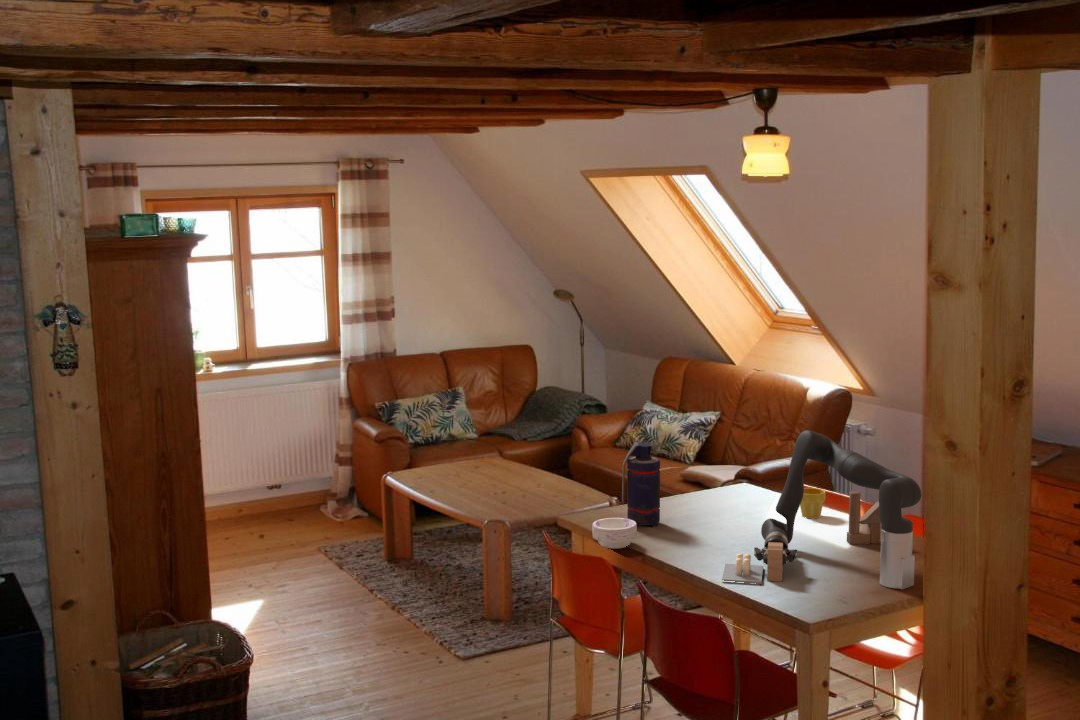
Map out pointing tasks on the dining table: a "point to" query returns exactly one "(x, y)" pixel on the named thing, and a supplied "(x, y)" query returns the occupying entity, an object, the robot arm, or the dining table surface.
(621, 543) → the white bowl
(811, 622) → the dining table surface
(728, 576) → the peg stand
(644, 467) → the grenade
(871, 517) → the wooden block structure
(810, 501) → the plant pot
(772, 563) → the brown rectangular block
